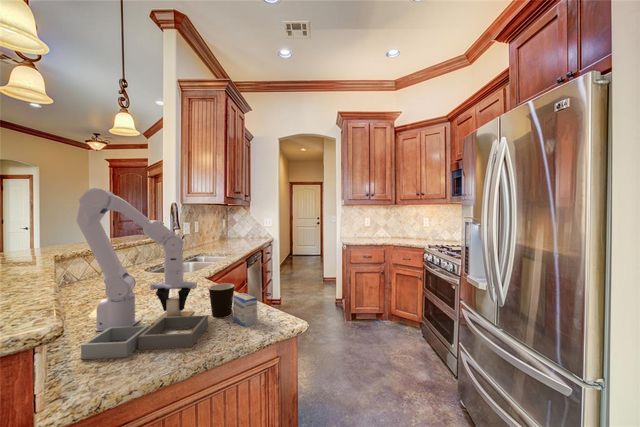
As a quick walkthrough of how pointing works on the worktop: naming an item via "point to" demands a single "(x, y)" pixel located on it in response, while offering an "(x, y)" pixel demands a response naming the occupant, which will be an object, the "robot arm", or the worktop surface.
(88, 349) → the slate bin
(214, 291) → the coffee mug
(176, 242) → the robot arm
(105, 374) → the worktop surface
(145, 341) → the charcoal bin
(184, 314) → the tan board
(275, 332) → the worktop surface
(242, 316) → the medicine box
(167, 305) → the cream capsule
